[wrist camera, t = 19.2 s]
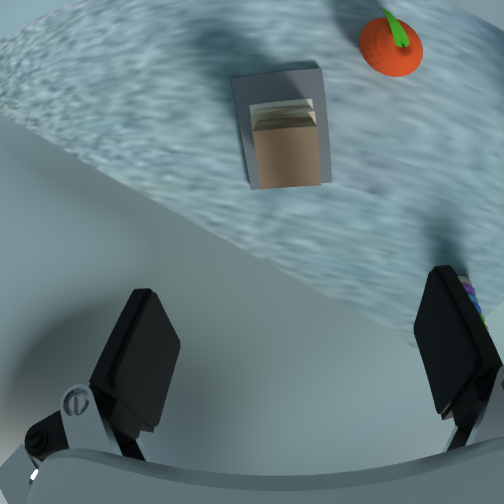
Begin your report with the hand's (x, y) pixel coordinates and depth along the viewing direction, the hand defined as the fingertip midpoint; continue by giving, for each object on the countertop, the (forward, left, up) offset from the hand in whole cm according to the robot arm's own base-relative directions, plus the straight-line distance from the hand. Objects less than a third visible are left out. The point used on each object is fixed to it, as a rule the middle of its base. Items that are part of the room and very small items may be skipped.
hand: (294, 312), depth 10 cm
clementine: (-13, -10, -29) cm, 33 cm away
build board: (0, 0, -28) cm, 28 cm away
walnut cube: (0, 0, -21) cm, 21 cm away
